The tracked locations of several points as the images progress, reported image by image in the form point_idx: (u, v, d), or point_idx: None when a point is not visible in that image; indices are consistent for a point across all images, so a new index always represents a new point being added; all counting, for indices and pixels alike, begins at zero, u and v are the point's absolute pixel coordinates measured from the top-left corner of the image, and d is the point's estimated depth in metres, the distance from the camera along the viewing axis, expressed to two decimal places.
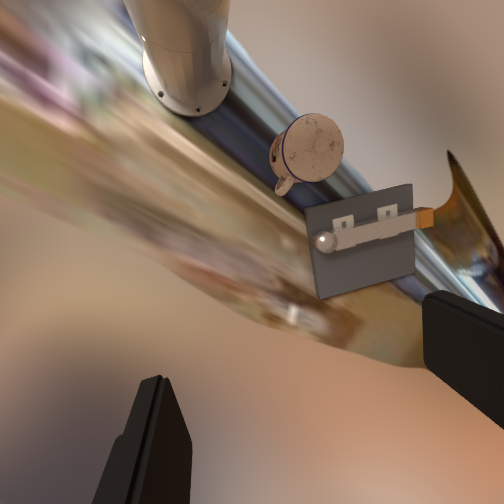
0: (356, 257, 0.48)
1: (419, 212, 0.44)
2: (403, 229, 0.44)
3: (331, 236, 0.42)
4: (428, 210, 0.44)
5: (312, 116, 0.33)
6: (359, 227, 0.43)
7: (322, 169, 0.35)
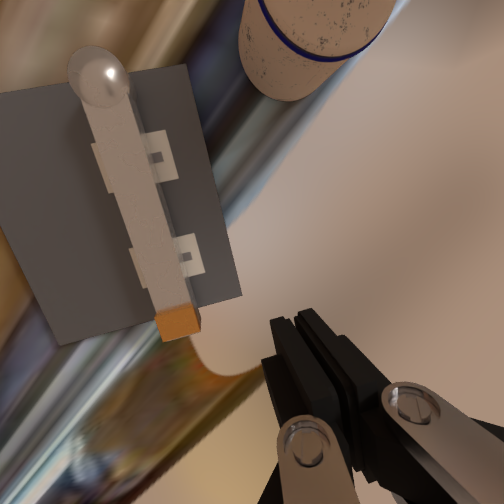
0: (79, 199, 0.21)
1: (189, 306, 0.21)
2: (151, 279, 0.20)
3: (117, 87, 0.17)
4: (194, 323, 0.21)
5: None
6: (146, 167, 0.18)
7: None
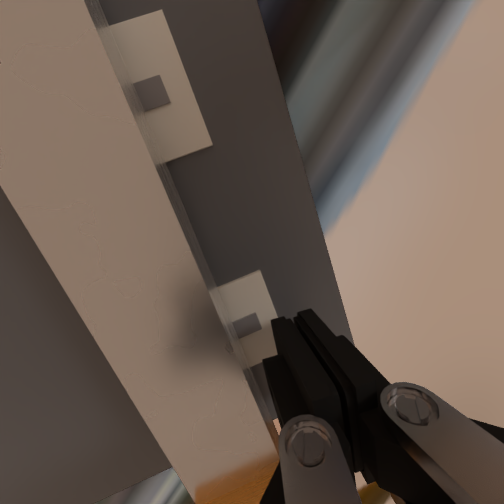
0: None
1: None
2: (173, 434, 0.07)
3: None
4: None
5: None
6: (114, 97, 0.05)
7: None
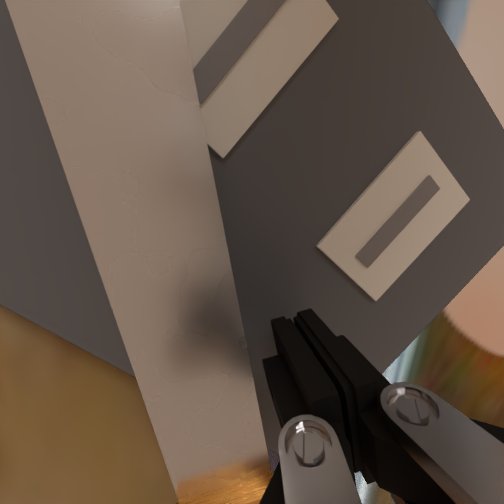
0: None
1: (268, 482, 0.08)
2: (170, 422, 0.07)
3: None
4: None
5: None
6: (183, 76, 0.05)
7: None
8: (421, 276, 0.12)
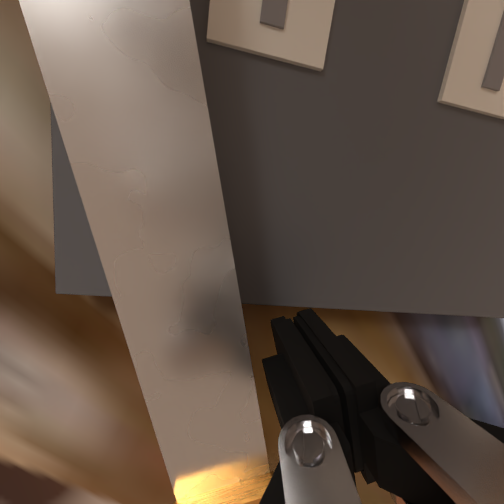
0: (306, 143, 0.09)
1: (267, 483, 0.08)
2: (171, 420, 0.07)
3: None
4: None
5: None
6: (192, 75, 0.05)
7: None
8: None
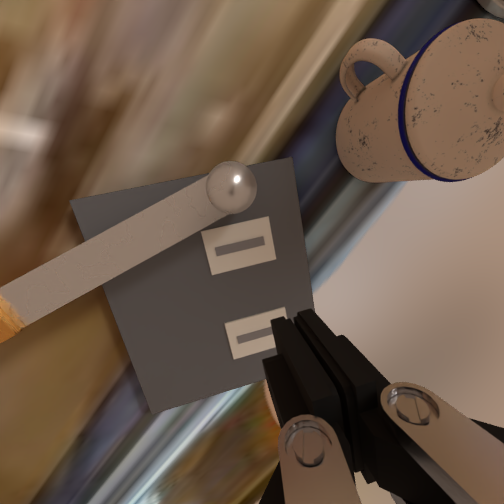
0: (184, 280, 0.22)
1: (16, 329, 0.17)
2: (35, 277, 0.17)
3: (229, 205, 0.18)
4: None
5: None
6: (166, 245, 0.18)
7: (440, 116, 0.14)
8: (258, 361, 0.25)
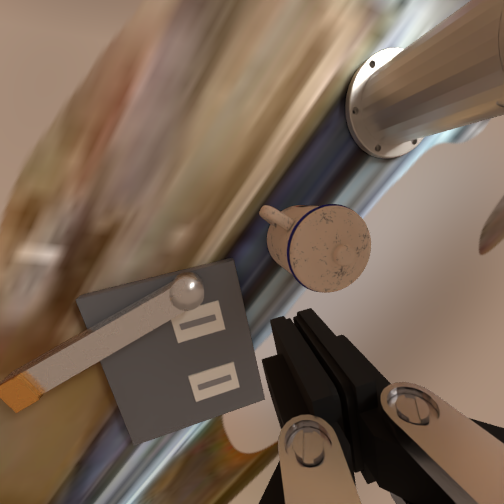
0: (158, 347, 0.31)
1: (39, 395, 0.25)
2: (53, 360, 0.25)
3: (185, 305, 0.27)
4: (23, 406, 0.25)
5: (369, 243, 0.25)
6: (142, 333, 0.26)
7: (308, 263, 0.24)
8: (214, 401, 0.34)
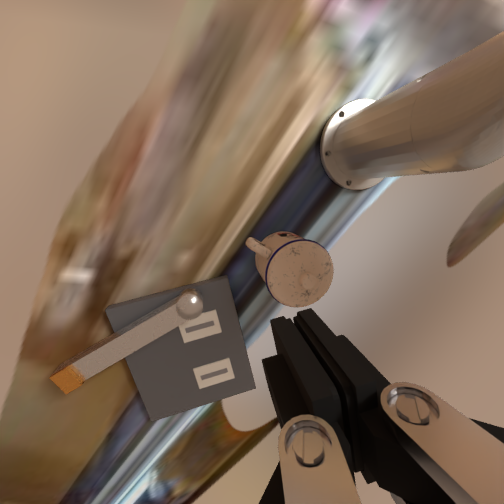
0: (168, 346, 0.39)
1: (81, 381, 0.34)
2: (91, 356, 0.33)
3: (188, 316, 0.34)
4: (71, 389, 0.33)
5: (331, 269, 0.32)
6: (156, 337, 0.34)
7: (281, 286, 0.31)
8: (214, 389, 0.42)
